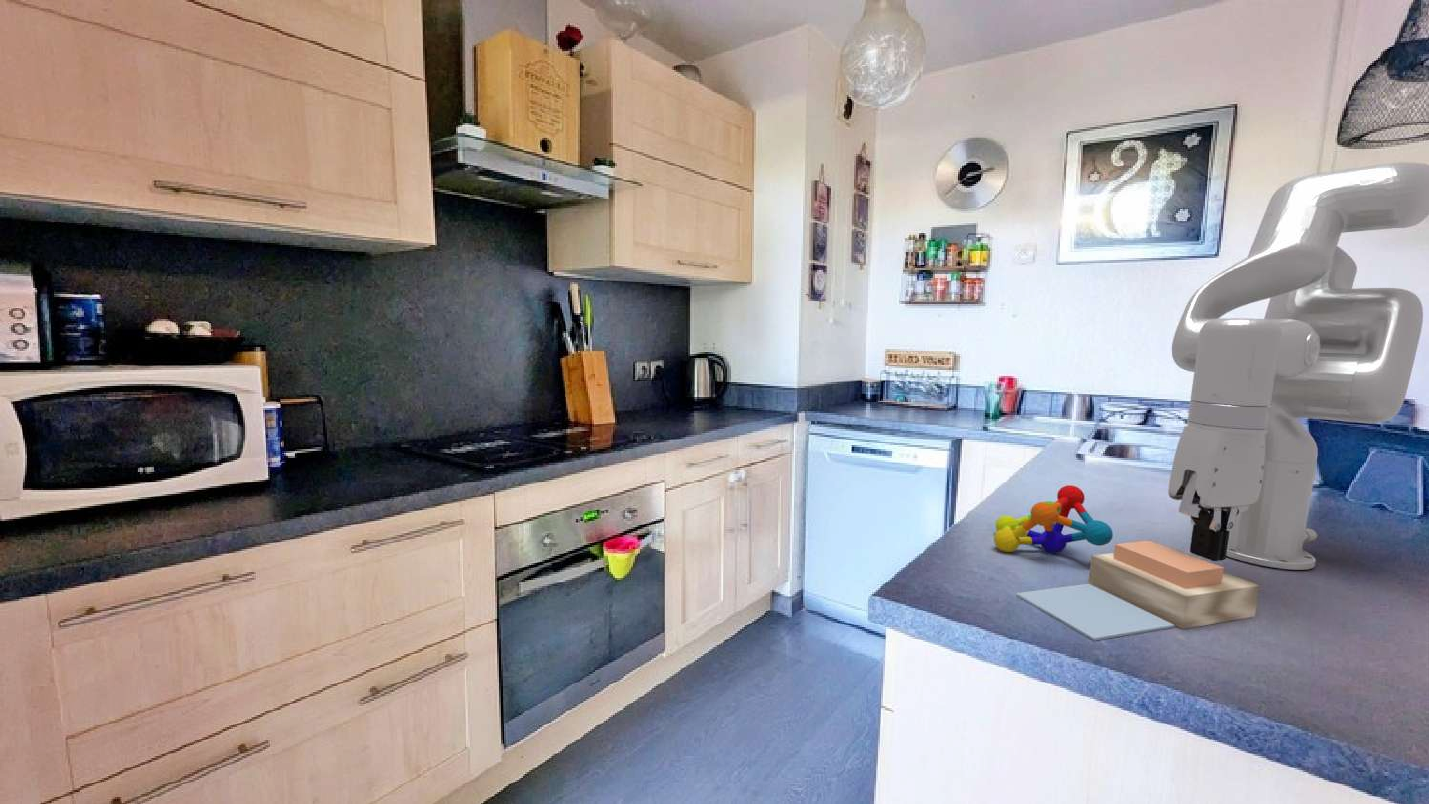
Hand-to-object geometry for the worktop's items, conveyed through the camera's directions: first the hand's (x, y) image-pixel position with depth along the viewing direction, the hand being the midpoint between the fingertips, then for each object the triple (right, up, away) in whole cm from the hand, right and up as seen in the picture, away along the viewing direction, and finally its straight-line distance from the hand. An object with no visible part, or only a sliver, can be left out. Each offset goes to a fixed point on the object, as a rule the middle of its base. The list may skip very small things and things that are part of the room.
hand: (1207, 556), depth 74 cm
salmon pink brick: (-7, -1, -2) cm, 7 cm away
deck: (-6, -5, -1) cm, 8 cm away
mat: (-18, -5, -4) cm, 19 cm away
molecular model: (-13, -3, +15) cm, 20 cm away
